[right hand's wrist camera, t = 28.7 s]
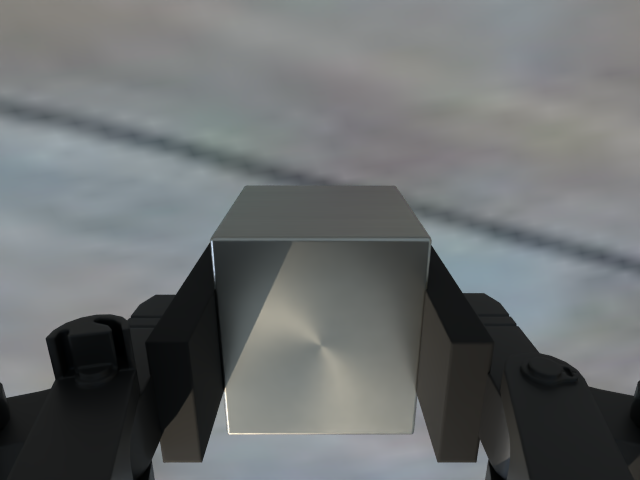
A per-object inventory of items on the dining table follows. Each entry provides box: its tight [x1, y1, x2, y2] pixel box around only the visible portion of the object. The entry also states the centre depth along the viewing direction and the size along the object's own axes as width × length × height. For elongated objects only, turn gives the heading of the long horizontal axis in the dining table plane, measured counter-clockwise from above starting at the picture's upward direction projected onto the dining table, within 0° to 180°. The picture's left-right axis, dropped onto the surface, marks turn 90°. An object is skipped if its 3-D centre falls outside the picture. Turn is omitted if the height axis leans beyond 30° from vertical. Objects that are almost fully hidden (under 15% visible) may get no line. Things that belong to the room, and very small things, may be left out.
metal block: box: [210, 186, 432, 434], centre depth 12 cm, size 5×5×5 cm
